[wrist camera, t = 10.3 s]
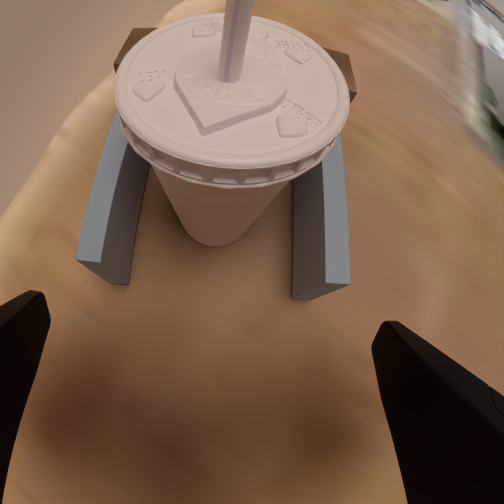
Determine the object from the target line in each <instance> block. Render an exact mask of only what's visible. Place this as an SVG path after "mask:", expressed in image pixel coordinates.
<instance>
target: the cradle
mask: <svg viewBox="0 0 504 504" xmlns="http://www.w3.org/2000/svg"><path fill="white" fill-rule="evenodd" d="M149 164H150V163H149V162H148V161H146V160H145V159H144V158H142V157H141V156H140V155H139V154H137V153H136V152H135V151H134V149H133V148H132V146H131V145H130V143H129V142H128V140H127V139H126V137H125V136H124V134H123V132H122V131H121V127H120V122H119V118H118V113H117V110H116V113H115V115H114V118H113V121H112V124H111V126H110V129H109V132H108V135H107V138H106V141H105V144H104V147H103V150H102V153H101V157H100V160H99V163H98V167H97V170H96V173H95V177H94V181H93V184H92V188H91V192H90V195H89V199H88V203H87V208H86V212H85V216H84V220H83V225H82V230H81V234H80V239H79V244H78V249H77V255H76V260H77V261H78V262H80V263H81V264H83V265H84V266H85V267H87V268H88V269H90V270H91V271H93V272H94V273H96V274H97V275H99V276H100V277H102V278H103V279H105V280H106V281H108V282H109V283H117V284H126V285H128V282H129V274H130V267H131V260H132V253H133V246H134V240H135V234H136V228H137V223H138V217H139V212H140V206H141V201H142V196H143V191H144V186H145V182H146V177H147V173H148V168H149ZM347 285H350V250H349V227H348V210H347V196H346V183H345V172H344V162H343V152H342V143H341V134H340V132H339V134H338V136H337V139H336V142H335V145H334V146H333V148H332V149H331V150H330V151H329V152H328V153H327V155H326V156H325V157H324V158H323V159H322V161H321V162H320V163H319V164H318V165H316V166H315V167H313V168H311V169H310V170H308V171H306V172H305V173H303V174H301V175H300V176H298V177H296V178H295V179H293V275H292V299H299V300H313V299H315V298H318V297H320V296H323V295H325V294H328V293H330V292H333V291H335V290H338V289H340V288H343V287H345V286H347Z"/></svg>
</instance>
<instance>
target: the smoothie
mask: <svg viewBox="0 0 504 504" xmlns="http://www.w3.org/2000/svg"><path fill="white" fill-rule="evenodd" d="M254 4H255V0H227V1H226V8H225V13H211V14H202V15H196V16H191V17H187V18H183V19H180V20H177V21H173V22H171V23H169V24H166V25H164V26H162V27H160V28H158V29H156V30H154V31H153V32H151V33H150V34H148V35H146V36H145V37H143V38H142V39H141V40H140V41H139V42H138V43H136V44H135V45H134V46H133V47H132V48H131V49H130V50H129V52H128V53H127V54H126V55H125V57H124V58H123V60H122V62H121V63H120V65H119V67H118V70H117V73H116V76H115V81H114V98H115V103H116V106H117V113H118V118H119V122H120V127H121V131H122V132H123V134H124V136H125V137H126V139H127V140H128V142H129V143H130V145H131V146H132V148H133V149H134V151H135V152H136V153H137V154H139V155H140V156H141V157H142V158H144V159H145V160H146V161H148V162H149V163H150V164H151V166H152V168H153V169H154V171H155V173H156V175H157V177H158V179H159V181H160V183H161V185H162V187H163V189H164V191H165V193H166V195H167V197H168V199H169V201H170V203H171V204H172V206H173V208H174V210H175V212H176V214H177V216H178V218H179V220H180V222H181V223H182V225H183V227H184V229H185V231H186V232H187V233H188V234H189V236H191V237H192V238H193V239H194V240H196V241H197V242H199V243H201V244H204V245H208V246H225V245H228V244H231V243H233V242H235V241H236V240H238V239H239V238H240V237H242V236H243V234H244V233H245V232H246V231H247V230H248V229H249V227H250V226H251V225H252V224H253V223H254V222H255V220H256V219H257V218H258V217H259V216H260V215H261V213H262V212H263V211H264V210H265V209H266V207H267V206H268V205H269V204H270V203H271V202H272V200H273V199H274V198H275V197H276V196H277V195H278V194H279V192H280V191H281V190H282V189H283V188H284V187H285V185H286V184H287V183H288V182H289V181H290V180H292V179H295V178H296V177H298V176H300V175H301V174H303V173H305V172H306V171H308V170H310V169H311V168H313V167H315V166H316V165H318V164H319V163H320V162H321V161H322V159H323V158H324V157H325V156H326V155H327V153H328V152H329V151H330V150H331V149H332V148H333V146H334V145H335V142H336V139H337V136H338V134H339V132H340V131H341V129H342V127H343V125H344V124H345V122H346V119H347V116H348V112H349V106H350V98H349V90H348V86H347V83H346V81H345V78H344V76H343V74H342V72H341V70H340V69H339V67H338V66H337V64H336V63H335V61H334V60H333V59H332V58H331V57H330V56H329V54H328V53H327V52H326V51H325V50H324V49H323V48H321V47H320V46H319V45H318V44H317V43H315V42H314V41H313V40H312V39H310V38H309V37H307V36H305V35H304V34H302V33H300V32H299V31H297V30H295V29H293V28H291V27H288V26H286V25H284V24H282V23H279V22H276V21H273V20H269V19H266V18H262V17H257V16H252V14H253V9H254Z"/></svg>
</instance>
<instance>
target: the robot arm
mask: <svg viewBox="0 0 504 504" xmlns="http://www.w3.org/2000/svg"><path fill="white" fill-rule="evenodd" d="M50 323H51V318H50V314H49V310H48V306H47V302H46V299H45V295H44V294H43V293H42V292H39V291H34V290H29V291H27V292H25V293H23V294H21V295H19V296H17V297H16V298H14V299H12V300H10V301H8V302H6V303H5V304H3V305H1V306H0V504H2V500H3V493H4V488H5V482H6V477H7V473H8V468H9V463H10V459H11V455H12V451H13V447H14V443H15V439H16V435H17V432H18V428H19V425H20V421H21V418H22V415H23V411H24V408H25V405H26V402H27V399H28V396H29V393H30V390H31V387H32V384H33V382H34V379H35V376H36V373H37V369H38V366H39V362H40V359H41V355H42V351H43V348H44V344H45V341H46V337H47V334H48V331H49V327H50ZM371 349H372V356H373V360H374V365H375V370H376V376H377V381H378V386H379V391H380V396H381V400H382V404H383V407H384V411H385V414H386V418H387V421H388V425H389V428H390V432H391V436H392V440H393V443H394V447H395V451H396V455H397V459H398V463H399V467H400V471H401V476H402V480H403V484H404V489H405V493H406V498H407V503H408V504H504V396H503V395H501V394H500V393H499V392H497V391H496V390H494V389H493V388H492V387H489V385H488V384H486V383H485V382H483V381H482V380H481V379H479V378H478V377H476V376H475V375H474V374H472V373H471V372H469V371H468V370H467V369H465V368H464V367H462V366H461V365H460V364H458V363H457V362H455V361H454V360H453V359H451V358H450V357H448V356H447V355H445V354H444V353H443V352H441V351H440V350H438V349H437V348H436V347H434V346H433V345H431V344H430V343H428V342H427V341H426V340H424V339H423V338H421V337H420V336H418V335H417V334H415V333H414V332H413V331H411V330H410V329H408V328H407V327H405V326H404V325H402V324H401V323H400V322H398V321H384V322H383V323H382V324H381V326H380V328H379V330H378V332H377V334H376V336H375V338H374V340H373V343H372V348H371Z"/></svg>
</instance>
